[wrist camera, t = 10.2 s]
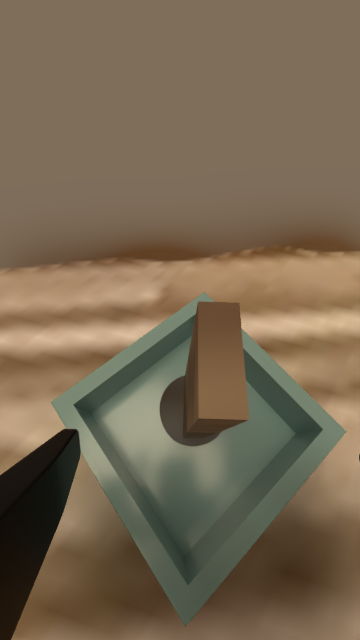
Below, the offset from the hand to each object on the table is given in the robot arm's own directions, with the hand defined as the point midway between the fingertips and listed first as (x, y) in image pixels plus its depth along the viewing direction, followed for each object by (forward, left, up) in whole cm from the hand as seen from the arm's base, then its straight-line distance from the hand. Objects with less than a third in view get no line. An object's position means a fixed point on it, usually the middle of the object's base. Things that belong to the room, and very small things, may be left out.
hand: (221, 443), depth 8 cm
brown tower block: (+2, -2, -12) cm, 12 cm away
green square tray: (+1, -1, -13) cm, 13 cm away
